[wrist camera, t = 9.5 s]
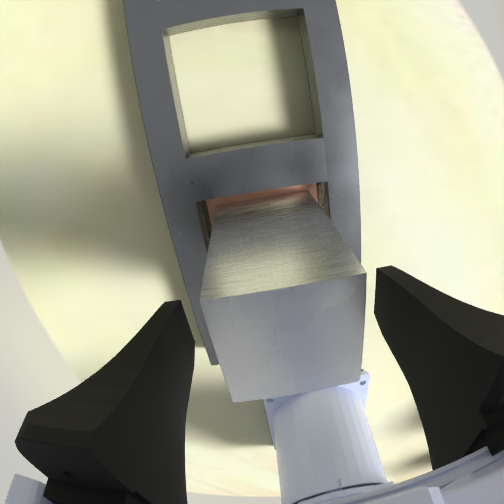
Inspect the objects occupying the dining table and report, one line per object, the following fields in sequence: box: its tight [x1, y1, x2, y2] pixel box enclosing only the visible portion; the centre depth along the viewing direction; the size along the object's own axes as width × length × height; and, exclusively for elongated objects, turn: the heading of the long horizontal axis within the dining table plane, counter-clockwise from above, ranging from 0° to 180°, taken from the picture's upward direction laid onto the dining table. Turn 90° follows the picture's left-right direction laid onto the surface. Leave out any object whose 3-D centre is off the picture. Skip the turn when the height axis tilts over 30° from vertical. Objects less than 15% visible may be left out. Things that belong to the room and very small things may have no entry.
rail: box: [123, 0, 361, 365], centre depth 14 cm, size 22×9×2 cm, turn 9°
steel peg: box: [199, 190, 366, 403], centre depth 13 cm, size 4×4×8 cm
